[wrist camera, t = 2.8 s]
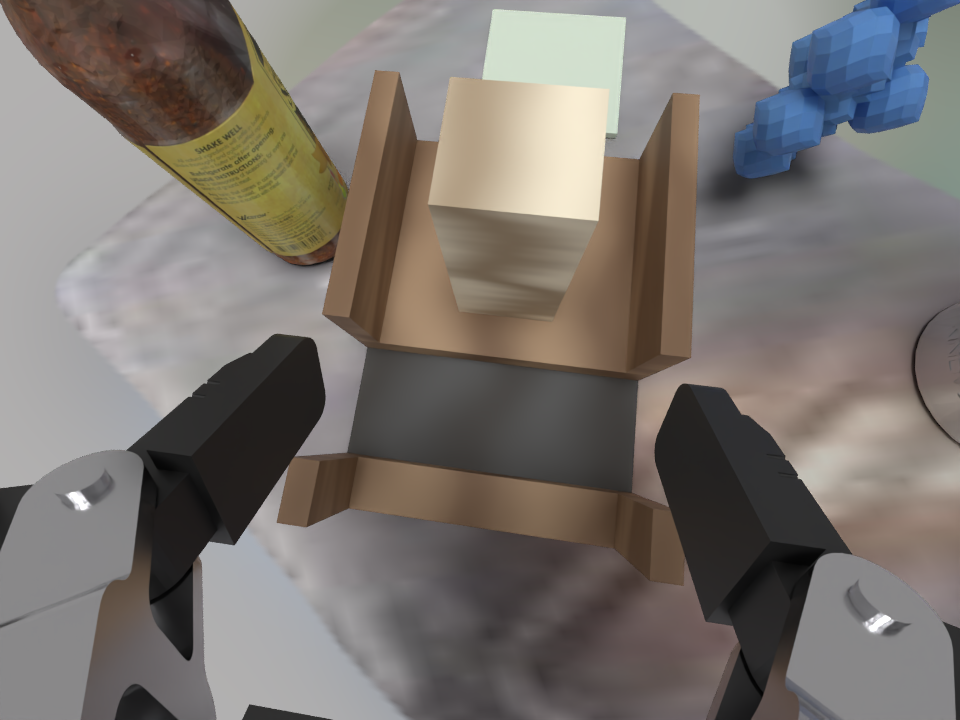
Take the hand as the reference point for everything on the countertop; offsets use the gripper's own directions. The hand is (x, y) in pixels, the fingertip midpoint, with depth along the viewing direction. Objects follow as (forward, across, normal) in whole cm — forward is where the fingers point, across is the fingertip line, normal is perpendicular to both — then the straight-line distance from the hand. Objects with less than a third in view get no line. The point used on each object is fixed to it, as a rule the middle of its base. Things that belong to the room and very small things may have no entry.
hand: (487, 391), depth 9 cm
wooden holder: (+14, 0, +6) cm, 15 cm away
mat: (+26, -1, -7) cm, 27 cm away
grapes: (+22, -15, -3) cm, 27 cm away
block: (+14, 0, +3) cm, 14 cm away
